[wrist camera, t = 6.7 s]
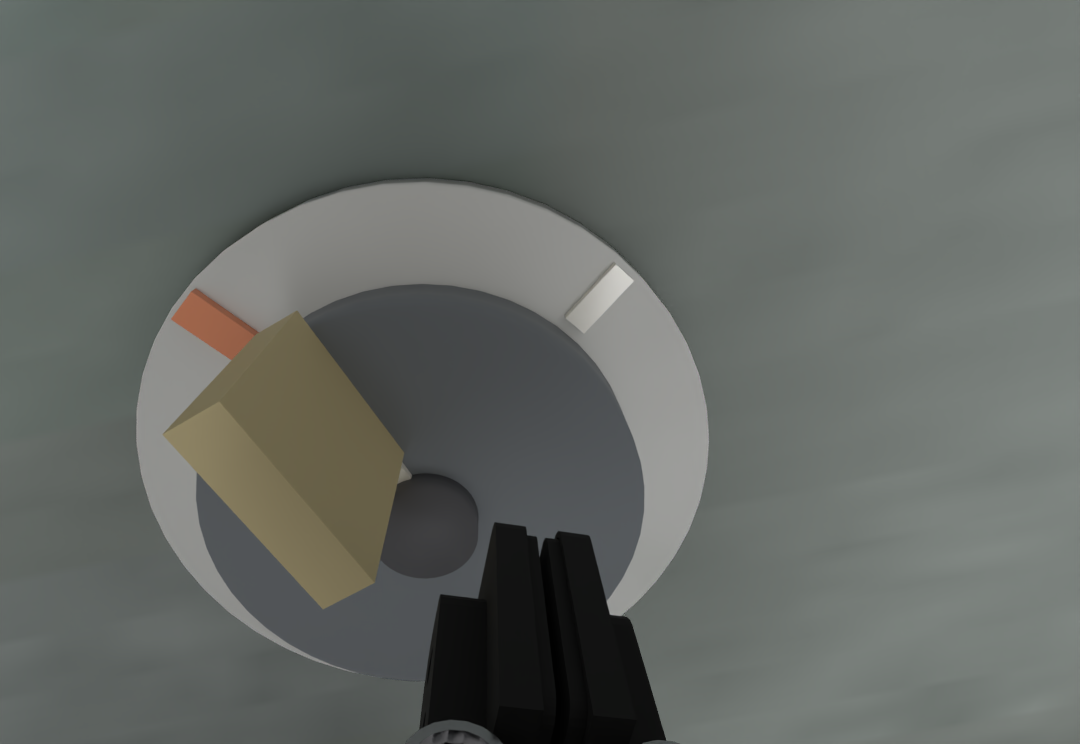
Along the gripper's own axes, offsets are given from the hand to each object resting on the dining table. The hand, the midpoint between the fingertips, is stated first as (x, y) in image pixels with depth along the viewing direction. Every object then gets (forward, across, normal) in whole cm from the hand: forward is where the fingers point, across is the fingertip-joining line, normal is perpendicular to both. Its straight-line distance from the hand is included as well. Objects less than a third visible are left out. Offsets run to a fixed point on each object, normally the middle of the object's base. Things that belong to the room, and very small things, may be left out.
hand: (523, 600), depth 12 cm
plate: (+10, +2, +2) cm, 11 cm away
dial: (+8, +2, +2) cm, 9 cm away
